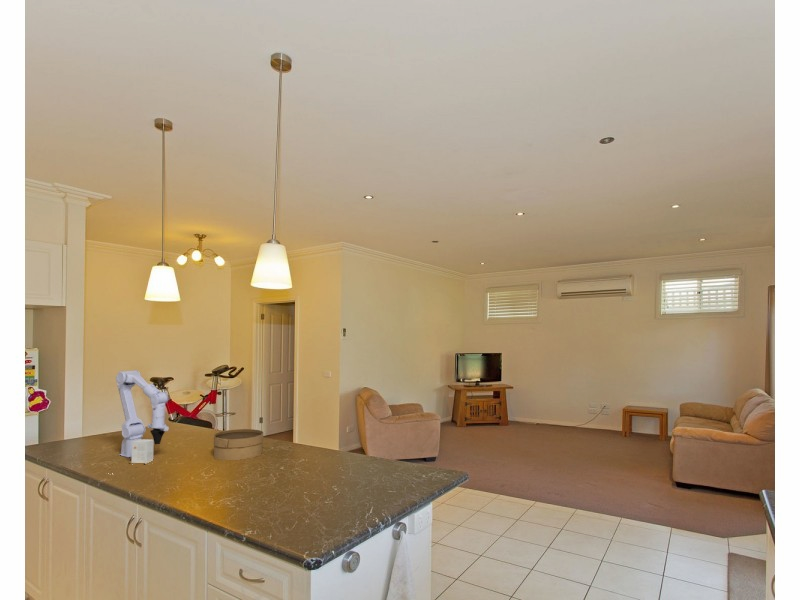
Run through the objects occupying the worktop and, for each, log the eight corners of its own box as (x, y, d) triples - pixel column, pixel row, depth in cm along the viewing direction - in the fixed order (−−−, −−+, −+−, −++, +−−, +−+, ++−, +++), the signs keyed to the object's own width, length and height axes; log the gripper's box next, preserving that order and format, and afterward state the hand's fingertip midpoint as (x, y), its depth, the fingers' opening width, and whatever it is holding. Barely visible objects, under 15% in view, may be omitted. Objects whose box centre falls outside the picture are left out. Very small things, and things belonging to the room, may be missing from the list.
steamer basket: (228, 463, 230) (229, 440, 231) (204, 455, 247) (205, 433, 248) (272, 454, 249) (272, 433, 250) (246, 447, 265) (247, 427, 266)
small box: (153, 460, 235) (154, 439, 235) (146, 463, 229) (147, 441, 230) (138, 460, 235) (139, 438, 236) (130, 463, 230) (131, 441, 231)
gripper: (174, 416, 240) (173, 444, 239) (157, 414, 247) (156, 440, 246) (161, 419, 234) (160, 446, 233) (144, 416, 241) (143, 443, 240)
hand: (157, 443), depth 239 cm, fingers closed
